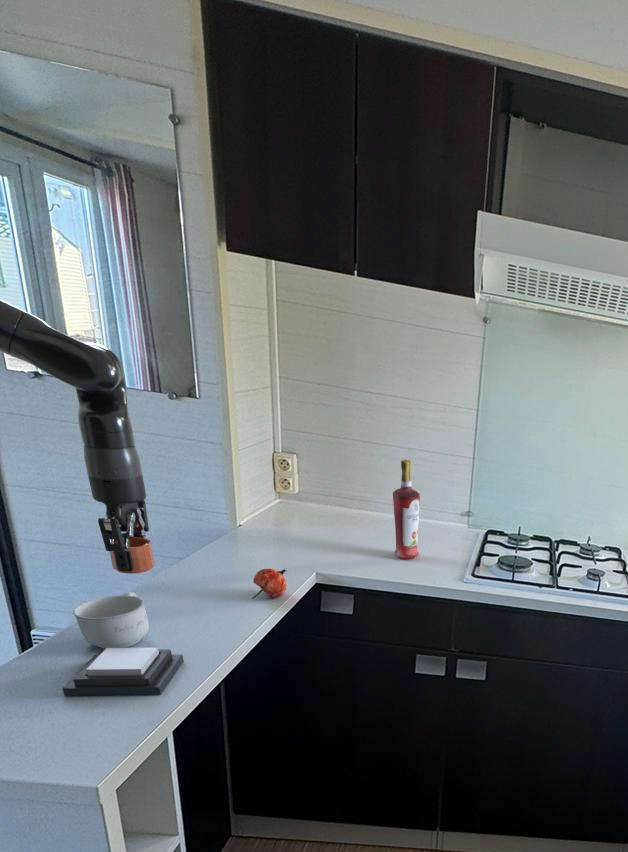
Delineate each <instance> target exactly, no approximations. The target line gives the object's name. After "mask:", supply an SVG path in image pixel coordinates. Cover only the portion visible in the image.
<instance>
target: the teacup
mask: <svg viewBox="0 0 628 852" xmlns="http://www.w3.org/2000/svg"><path fill="white" fill-rule="evenodd" d="M73 615H74V616H75V618H76V621H77V624H78V627H79V630H80V632H81V634H82V636H83V638H84V640H85V641H86V642H87V643H88V644H90V645H93V646H95V647H97V648H98V647H99V648H100V649H106V648H130V647H131V646H134V645H136V644H138V643H139V642H140V641H141V640H142V639H143V638H144V637H145V636H146V635H147V633H148V632H149V627H150V625H149V623H150V622H149V618H148V615H147V611H146V608H145V601H144V599H143V598H141V597H139V596H138V595H137V594H136V593H135V592H131V591H128V592H124V593H123V594H121V595H108V596H102V597H97V598H93V599H90V600H87V601H85V602H83V603H81V604H79V605H77V606H76V607H75V608H74V609H73Z"/></svg>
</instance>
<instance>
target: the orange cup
mask: <svg viewBox="0 0 628 852" xmlns="http://www.w3.org/2000/svg"><path fill="white" fill-rule="evenodd" d="M123 541H124V538H123ZM110 542H111V540H110ZM117 544H118V543H117ZM130 552H131V557H132V561H133V566H134V569H133V570H132V571H131V572H124V571H119V570H118V568H117V563H116V558H115V554H114V551H109V556H110V559H111V565H112V569H114V570H116V572H118V573H121V574H129V575H130V574H131V575H132V574H133V575H134V574H142V573H146V572H148V571H151V570H152V569H153V568H154V567H155V565H156V563H155V557H154V553H153V546H152V542H151V539H149V538H147V537H146V538H141V537H133V538H132V539H130Z"/></svg>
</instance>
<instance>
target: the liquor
mask: <svg viewBox="0 0 628 852" xmlns="http://www.w3.org/2000/svg"><path fill="white" fill-rule="evenodd" d="M400 468H401V478H400V479H401V481H400V487H399V488H397V489H395V490H394V491H393V492H392V504H393V506H392V507H393V518H394V532H395V534H394V535H395V551H394V554H395V556H396V557H398V558H399V559H400V560H406V561H409V560H413V559H415V558H416V557H417V556H419V554H420V552H419V550H418V539H419V538H418V537H419V517H420V502H421V501H420V500H421V499H420V498H421V494H420V493H419V491H417V490H416V489H413V485H412V476H411V469H412V460H409V459H401V460H400Z"/></svg>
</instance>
